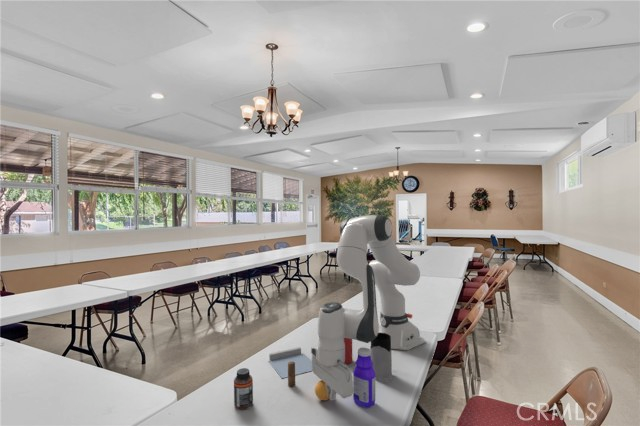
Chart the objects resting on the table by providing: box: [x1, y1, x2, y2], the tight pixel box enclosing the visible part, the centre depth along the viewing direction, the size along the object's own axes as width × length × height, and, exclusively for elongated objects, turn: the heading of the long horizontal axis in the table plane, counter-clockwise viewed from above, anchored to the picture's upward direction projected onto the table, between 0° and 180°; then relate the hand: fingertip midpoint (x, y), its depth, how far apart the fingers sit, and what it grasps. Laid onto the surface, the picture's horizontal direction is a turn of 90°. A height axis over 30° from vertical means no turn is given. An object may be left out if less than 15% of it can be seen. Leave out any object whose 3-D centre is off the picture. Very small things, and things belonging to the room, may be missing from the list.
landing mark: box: [267, 352, 313, 380], centre depth 135 cm, size 16×16×1 cm
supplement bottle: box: [233, 367, 254, 411], centre depth 107 cm, size 6×6×11 cm
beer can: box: [344, 338, 353, 365], centre depth 138 cm, size 7×7×12 cm
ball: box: [314, 379, 330, 401], centre depth 110 cm, size 6×6×6 cm
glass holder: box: [369, 332, 394, 383], centre depth 128 cm, size 9×14×15 cm, turn 158°
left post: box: [287, 361, 296, 388], centre depth 119 cm, size 3×3×8 cm
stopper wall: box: [268, 346, 302, 361], centre depth 143 cm, size 14×2×2 cm, turn 117°
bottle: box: [352, 347, 376, 409], centre depth 108 cm, size 7×6×17 cm
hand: (331, 398), depth 107 cm, fingers closed
